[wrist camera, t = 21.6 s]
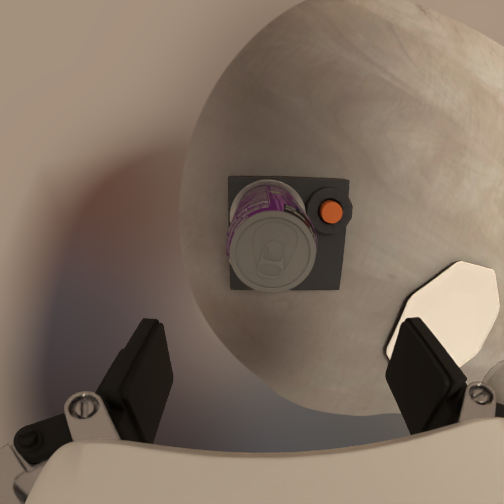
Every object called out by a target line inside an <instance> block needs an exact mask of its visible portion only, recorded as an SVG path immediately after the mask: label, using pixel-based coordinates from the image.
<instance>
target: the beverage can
mask: <svg viewBox="0 0 504 504" xmlns="http://www.w3.org/2000/svg"><path fill="white" fill-rule="evenodd" d="M226 252H227V256H228V259H229V262H230V264H231V266H232V268H233V270H234V272H235V273H236V275H237V276H238V278H239V279H240V280H241V281H242V282H243V283H245V284H246V285H247V286H249V287H251V288H253V289H255V290H257V291H261V292H266V293H279V292H283V291H287V290H289V289H292V288H294V287H295V286H297V285H298V284H300V283H301V282H302V281H303V280H304V279H305V278H306V277H307V276H308V274H309V273H310V271H311V269H312V267H313V265H314V262H315V257H316V252H317V235H316V231H315V228H314V226H313V224H312V222H311V220H310V219H309V217H308V216H307V215H306V213H305V212H304V210H303V209H302V208H301V206H300V205H299V204H298V202H297V201H296V200H295V198H294V197H293V196H292V195H291V194H290V193H289V192H287V191H286V190H284V189H282V188H279V187H276V186H261V187H257V188H255V189H253V190H251V191H249V192H248V193H247V194H245V195H244V196H243V198H242V199H241V200H240V202H239V204H238V206H237V208H236V211H235V214H234V216H233V219H232V221H231V224H230V227H229V229H228V233H227V237H226Z"/></svg>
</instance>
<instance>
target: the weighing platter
mask: <svg viewBox="0 0 504 504" xmlns="http://www.w3.org/2000/svg"><path fill="white" fill-rule="evenodd" d="M261 186H276V187H279V188H282V189H284V190H286V191H287V192H289V193H290V194H291V195H292V196H293V197H294V198H295V200H296V201H297V202H298V204H299V205H300V206H301V208H302V209H303V210H304V212H305V213H306V210H305V206H304V203H303V201H302V199H301V197H300V196H299V194H298V193H297V192H296V191H295V190H294V189H293V188H292V187H290V186H289V185H287V184H286V183H284V182H281V181H278V180H272V179H263V180H258V181H255V182H252V183H250V184H248V185H247V186H245V187H244V188H243V189H242V190H241V191H240V192H239V193H238V194H237V196H236V197H235V199H234V201H233V203H232V206H231V210H230V224H231V221H232V219H233V216H234V214H235V211H236V208H237V206H238V204H239V202H240V200H241V199H242V198H243V196H244V195H245V194H247V193H248V192H249V191H251V190H253V189H255V188H257V187H261Z"/></svg>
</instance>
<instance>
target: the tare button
mask: <svg viewBox="0 0 504 504" xmlns="http://www.w3.org/2000/svg"><path fill="white" fill-rule="evenodd" d="M319 212H320V216H321V217H322V218H323V219H324V221H326V222H327V223H331V224H333V223H336V222H338V221H339V220H340V219H341V217H342V208H341V206H340V205H339V204H337V203H336V202H334V201H332V200H328V201H325V202H324V203H323V204H322V205H321V206H320V210H319Z"/></svg>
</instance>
